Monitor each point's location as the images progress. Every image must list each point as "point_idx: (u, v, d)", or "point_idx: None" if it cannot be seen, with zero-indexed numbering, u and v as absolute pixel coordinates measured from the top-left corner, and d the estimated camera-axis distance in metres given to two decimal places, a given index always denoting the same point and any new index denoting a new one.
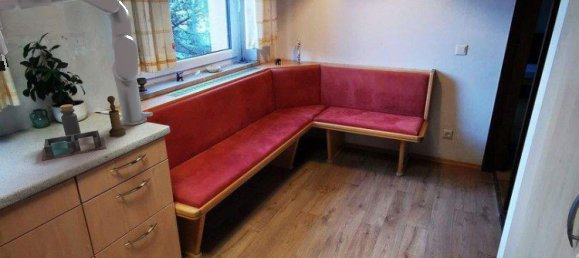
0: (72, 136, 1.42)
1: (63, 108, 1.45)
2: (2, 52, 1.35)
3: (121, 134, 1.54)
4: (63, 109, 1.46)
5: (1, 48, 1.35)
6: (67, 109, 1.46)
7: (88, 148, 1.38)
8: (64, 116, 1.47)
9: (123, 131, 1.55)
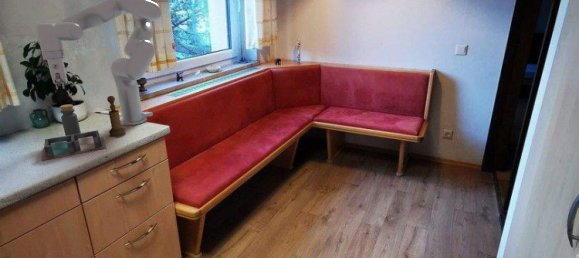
0: (72, 136, 1.42)
1: (63, 108, 1.45)
2: (65, 80, 1.40)
3: (121, 134, 1.54)
4: (63, 109, 1.46)
5: (64, 77, 1.40)
6: (67, 109, 1.46)
7: (88, 148, 1.38)
8: (64, 116, 1.47)
9: (123, 131, 1.55)
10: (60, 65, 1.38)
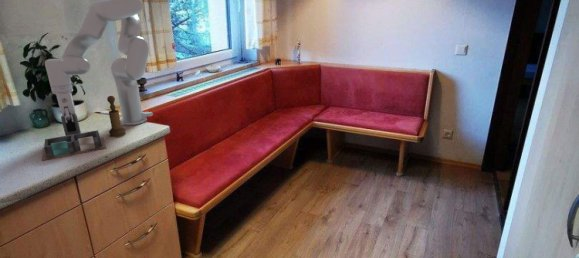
0: (72, 136, 1.42)
1: None
2: (73, 113, 1.45)
3: (121, 134, 1.54)
4: None
5: (73, 109, 1.45)
6: None
7: (88, 148, 1.38)
8: (64, 116, 1.47)
9: (123, 131, 1.55)
10: (69, 99, 1.43)
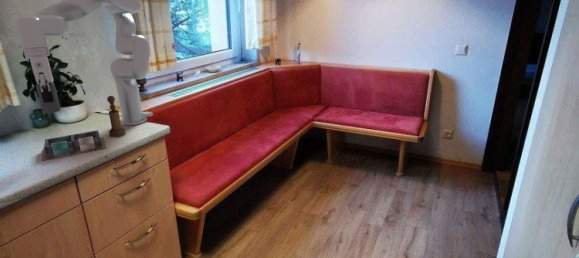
0: (72, 136, 1.42)
1: None
2: (50, 80, 1.26)
3: (121, 134, 1.54)
4: None
5: (49, 76, 1.26)
6: None
7: (88, 148, 1.38)
8: None
9: (123, 131, 1.55)
10: (44, 63, 1.24)
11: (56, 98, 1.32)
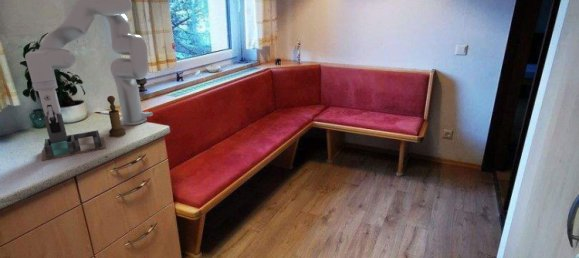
0: (72, 136, 1.42)
1: None
2: (58, 112, 1.30)
3: (121, 134, 1.54)
4: None
5: (57, 108, 1.30)
6: None
7: (88, 148, 1.38)
8: (47, 116, 1.31)
9: (123, 131, 1.55)
10: (52, 96, 1.28)
11: (63, 128, 1.36)
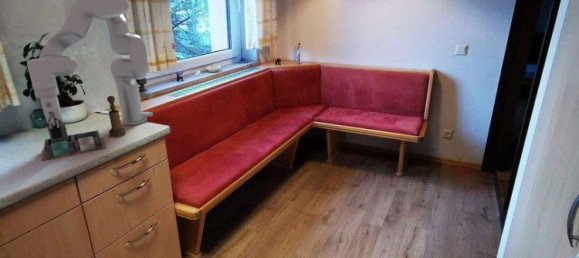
0: (72, 136, 1.42)
1: None
2: (59, 119, 1.31)
3: (121, 134, 1.54)
4: None
5: (58, 115, 1.31)
6: None
7: (88, 148, 1.38)
8: None
9: (123, 131, 1.55)
10: (54, 103, 1.29)
11: (66, 137, 1.38)
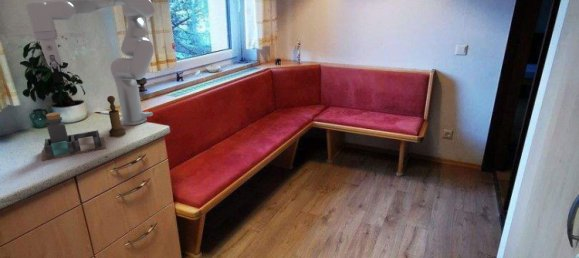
0: (72, 136, 1.42)
1: (49, 117, 1.32)
2: (60, 63, 1.33)
3: (121, 134, 1.54)
4: (49, 118, 1.32)
5: (59, 59, 1.33)
6: (54, 118, 1.33)
7: (88, 148, 1.38)
8: (50, 125, 1.33)
9: (123, 131, 1.55)
10: (54, 46, 1.31)
11: (66, 137, 1.38)
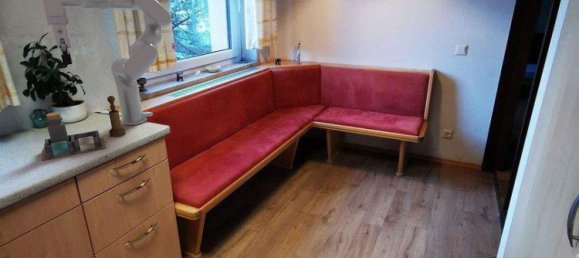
0: (72, 136, 1.42)
1: (50, 117, 1.32)
2: (69, 46, 1.41)
3: (121, 134, 1.54)
4: (50, 118, 1.32)
5: (69, 42, 1.41)
6: (54, 118, 1.33)
7: (88, 148, 1.38)
8: (51, 125, 1.33)
9: (123, 131, 1.55)
10: (64, 30, 1.39)
11: (66, 137, 1.38)
